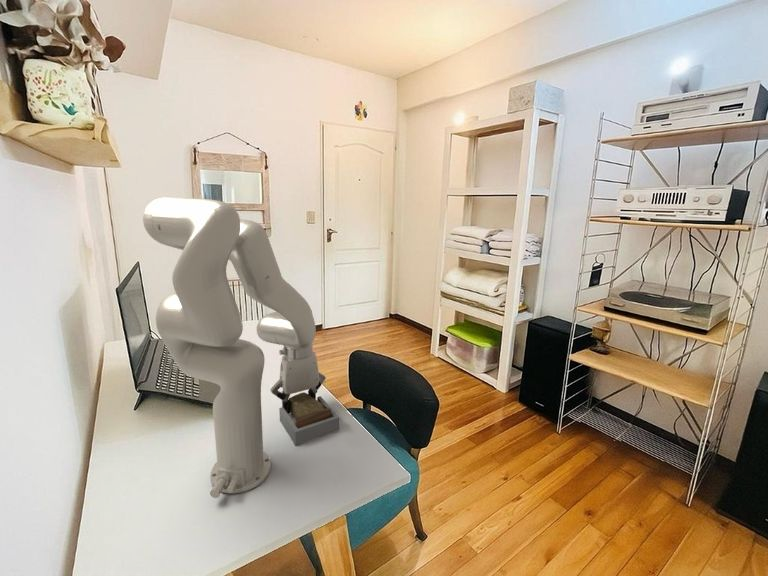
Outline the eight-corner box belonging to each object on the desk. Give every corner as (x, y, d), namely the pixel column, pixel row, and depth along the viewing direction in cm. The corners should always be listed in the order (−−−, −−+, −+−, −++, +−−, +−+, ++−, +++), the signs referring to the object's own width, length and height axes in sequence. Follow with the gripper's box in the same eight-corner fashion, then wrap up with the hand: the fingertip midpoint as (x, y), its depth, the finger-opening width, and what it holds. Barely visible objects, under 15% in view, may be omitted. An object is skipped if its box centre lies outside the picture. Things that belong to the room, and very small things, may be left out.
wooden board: (331, 425, 97) (331, 409, 96) (297, 437, 92) (296, 420, 91) (329, 423, 98) (329, 407, 97) (295, 434, 93) (295, 418, 92)
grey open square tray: (339, 430, 96) (339, 417, 95) (295, 446, 89) (295, 432, 88) (320, 408, 106) (320, 395, 105) (279, 420, 99) (279, 407, 98)
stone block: (311, 430, 95) (311, 413, 94) (286, 412, 102) (285, 396, 101) (328, 421, 99) (328, 405, 98) (302, 404, 107) (302, 389, 105)
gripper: (271, 362, 91) (273, 424, 95) (333, 349, 100) (332, 405, 105) (262, 351, 97) (264, 410, 101) (321, 339, 106) (321, 393, 111)
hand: (299, 407), depth 103 cm, fingers open, 6 cm apart
